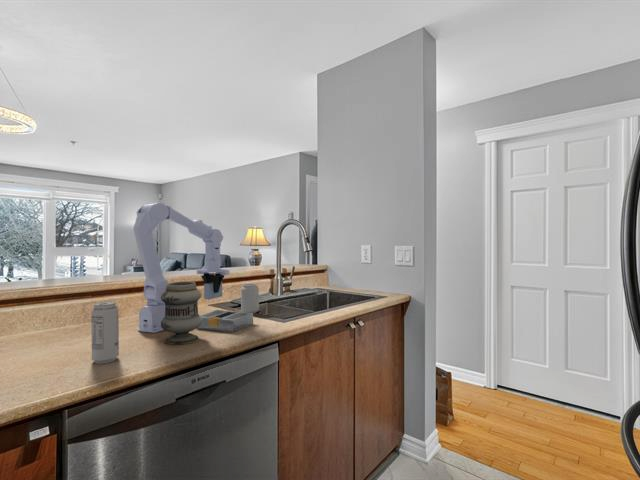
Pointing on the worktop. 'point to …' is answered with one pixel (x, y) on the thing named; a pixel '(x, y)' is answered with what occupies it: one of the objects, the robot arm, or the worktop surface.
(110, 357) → the energy drink can
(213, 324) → the rack
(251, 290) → the can
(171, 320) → the apothecary jar
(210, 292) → the block
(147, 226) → the robot arm
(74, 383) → the worktop surface
